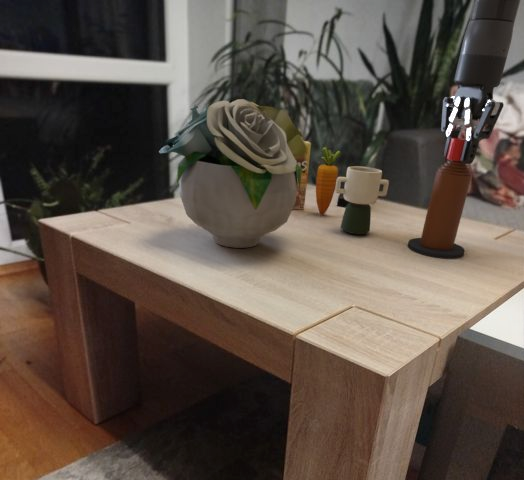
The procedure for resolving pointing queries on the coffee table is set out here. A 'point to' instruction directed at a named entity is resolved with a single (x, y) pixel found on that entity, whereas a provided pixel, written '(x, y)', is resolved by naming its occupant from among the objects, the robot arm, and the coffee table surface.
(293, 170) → the flower arrangement
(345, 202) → the vhs tape
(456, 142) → the cap
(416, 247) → the coaster
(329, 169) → the carrot
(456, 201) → the bottle
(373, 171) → the cream green handled vessel
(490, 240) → the coffee table surface
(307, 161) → the candy box
